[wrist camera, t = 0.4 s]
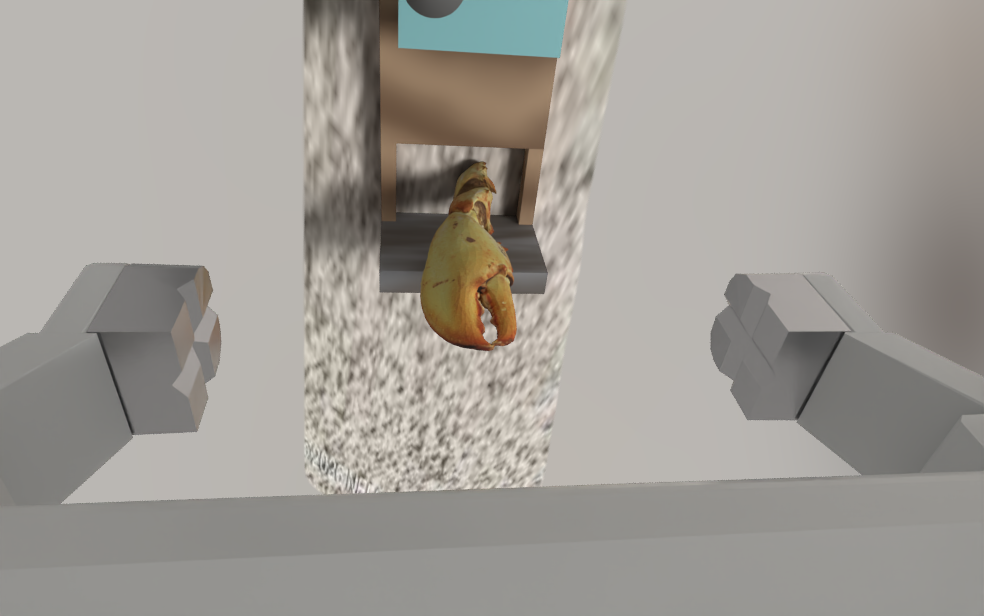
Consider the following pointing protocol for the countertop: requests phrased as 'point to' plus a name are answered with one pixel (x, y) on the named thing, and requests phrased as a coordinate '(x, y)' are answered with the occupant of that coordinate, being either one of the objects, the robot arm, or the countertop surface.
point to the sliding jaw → (483, 26)
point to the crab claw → (469, 270)
